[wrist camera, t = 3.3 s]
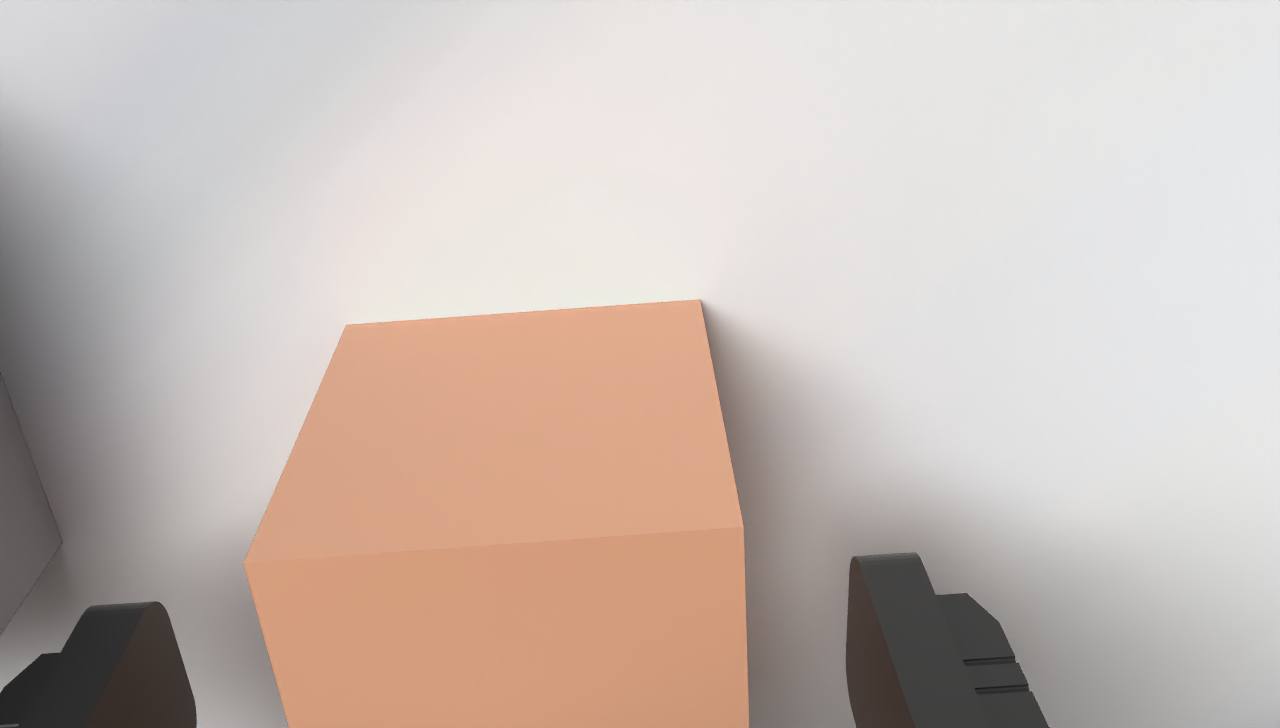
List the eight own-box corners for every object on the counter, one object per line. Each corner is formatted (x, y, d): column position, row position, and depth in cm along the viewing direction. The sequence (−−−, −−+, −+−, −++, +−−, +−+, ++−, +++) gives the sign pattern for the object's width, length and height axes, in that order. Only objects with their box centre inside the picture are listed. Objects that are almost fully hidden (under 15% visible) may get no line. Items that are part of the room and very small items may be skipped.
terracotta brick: (699, 295, 15) (743, 527, 10) (717, 704, 18) (757, 1012, 14) (347, 321, 15) (242, 563, 10) (429, 725, 18) (375, 1040, 14)
